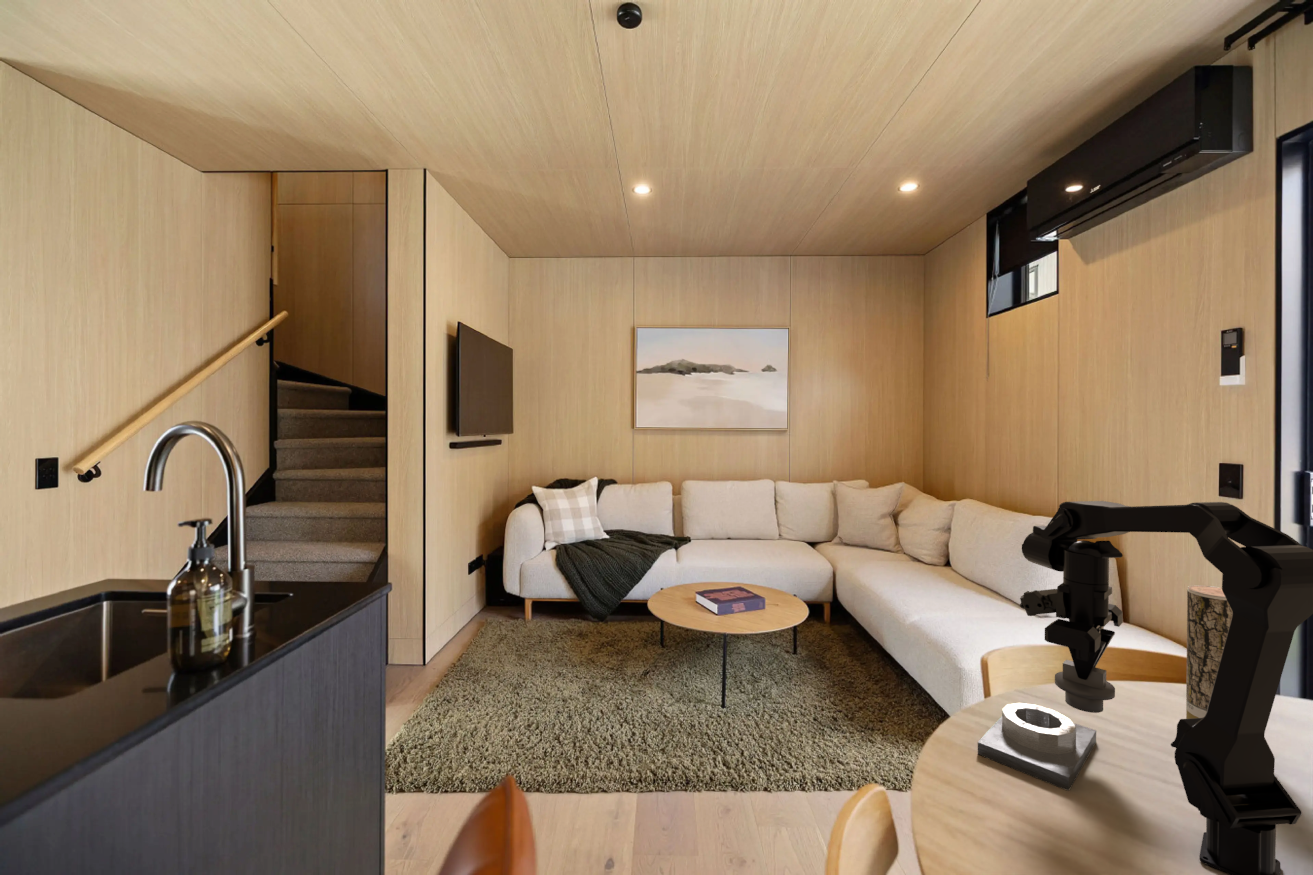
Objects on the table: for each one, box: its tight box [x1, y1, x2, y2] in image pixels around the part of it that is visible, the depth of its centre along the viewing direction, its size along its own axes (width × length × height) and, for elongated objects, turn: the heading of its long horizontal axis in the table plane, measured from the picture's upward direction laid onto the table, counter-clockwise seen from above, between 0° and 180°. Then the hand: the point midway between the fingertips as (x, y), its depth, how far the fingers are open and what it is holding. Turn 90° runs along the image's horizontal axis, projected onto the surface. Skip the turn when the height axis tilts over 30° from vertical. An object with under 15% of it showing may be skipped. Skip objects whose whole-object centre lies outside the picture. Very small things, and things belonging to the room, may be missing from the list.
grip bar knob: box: [1054, 659, 1116, 714], centre depth 88 cm, size 8×8×6 cm
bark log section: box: [1185, 584, 1232, 719], centre depth 91 cm, size 7×7×25 cm
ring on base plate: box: [977, 702, 1097, 791], centre depth 90 cm, size 18×12×5 cm, turn 131°
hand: (1084, 676), depth 88 cm, fingers closed on grip bar knob
